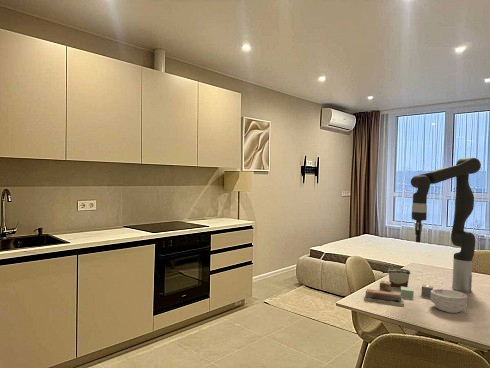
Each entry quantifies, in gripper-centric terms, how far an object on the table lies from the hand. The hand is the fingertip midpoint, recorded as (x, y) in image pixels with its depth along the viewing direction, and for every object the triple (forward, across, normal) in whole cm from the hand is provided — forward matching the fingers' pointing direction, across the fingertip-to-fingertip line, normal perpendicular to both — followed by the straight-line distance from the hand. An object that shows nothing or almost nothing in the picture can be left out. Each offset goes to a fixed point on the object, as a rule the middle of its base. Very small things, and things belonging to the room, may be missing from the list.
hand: (418, 242), depth 199 cm
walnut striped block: (+27, -14, +14) cm, 33 cm away
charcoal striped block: (+27, -7, -6) cm, 28 cm away
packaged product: (+27, -30, +12) cm, 42 cm away
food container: (+27, +1, +10) cm, 29 cm away
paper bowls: (+27, -25, -16) cm, 40 cm away
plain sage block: (+27, -15, +3) cm, 31 cm away
